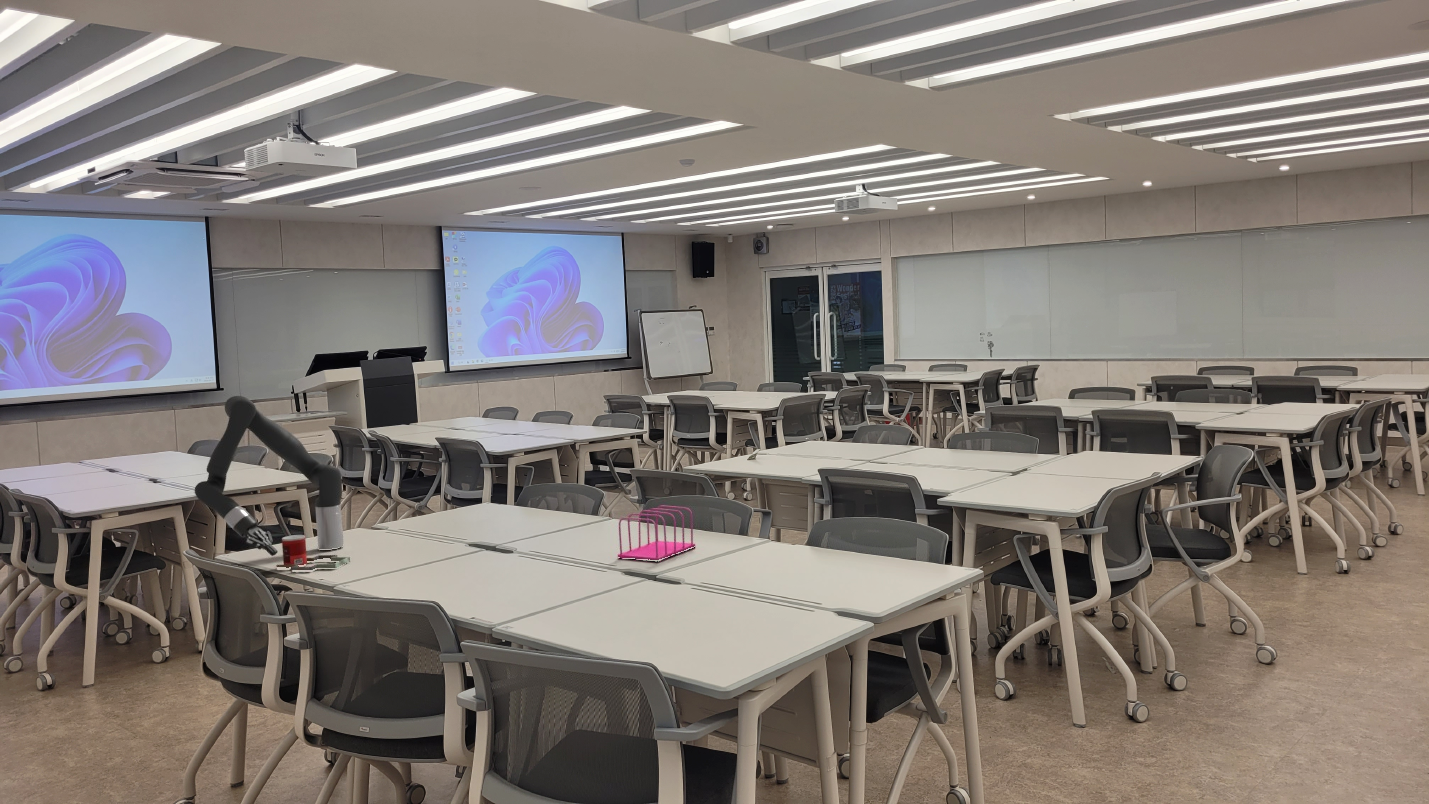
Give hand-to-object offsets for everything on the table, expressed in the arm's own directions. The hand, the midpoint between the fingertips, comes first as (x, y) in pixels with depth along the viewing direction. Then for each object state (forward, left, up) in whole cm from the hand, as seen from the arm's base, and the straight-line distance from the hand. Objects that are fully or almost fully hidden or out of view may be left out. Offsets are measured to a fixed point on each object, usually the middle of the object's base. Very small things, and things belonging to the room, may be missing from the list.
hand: (275, 553), depth 353 cm
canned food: (0, +7, -5) cm, 9 cm away
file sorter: (-12, +139, -5) cm, 139 cm away
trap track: (0, +14, -5) cm, 15 cm away
